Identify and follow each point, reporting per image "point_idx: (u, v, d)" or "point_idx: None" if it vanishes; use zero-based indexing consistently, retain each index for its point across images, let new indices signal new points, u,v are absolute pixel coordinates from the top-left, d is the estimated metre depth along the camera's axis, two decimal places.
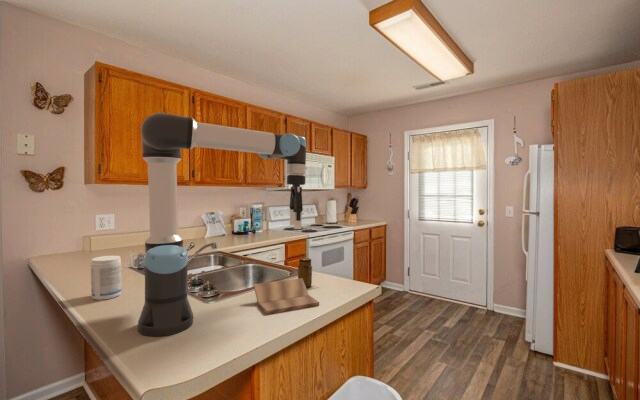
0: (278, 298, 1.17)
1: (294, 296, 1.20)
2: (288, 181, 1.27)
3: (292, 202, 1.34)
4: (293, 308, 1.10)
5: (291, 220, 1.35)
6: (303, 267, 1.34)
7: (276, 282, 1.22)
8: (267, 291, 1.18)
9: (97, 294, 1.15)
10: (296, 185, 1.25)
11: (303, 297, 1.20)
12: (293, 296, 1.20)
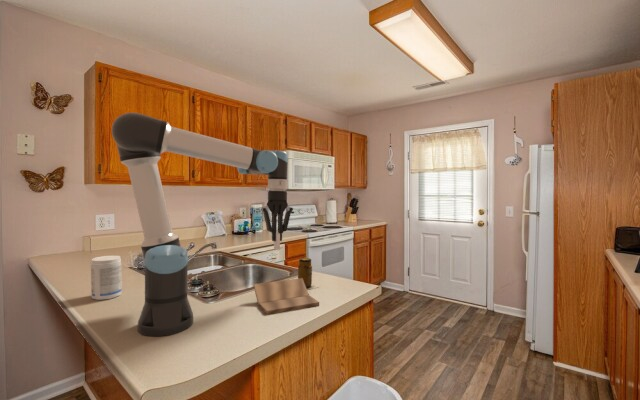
0: (278, 298, 1.17)
1: (294, 296, 1.20)
2: None
3: (278, 221, 1.27)
4: (293, 308, 1.10)
5: None
6: (303, 267, 1.35)
7: (276, 282, 1.22)
8: (267, 291, 1.18)
9: (97, 294, 1.15)
10: (268, 201, 1.24)
11: (303, 297, 1.20)
12: (293, 296, 1.20)
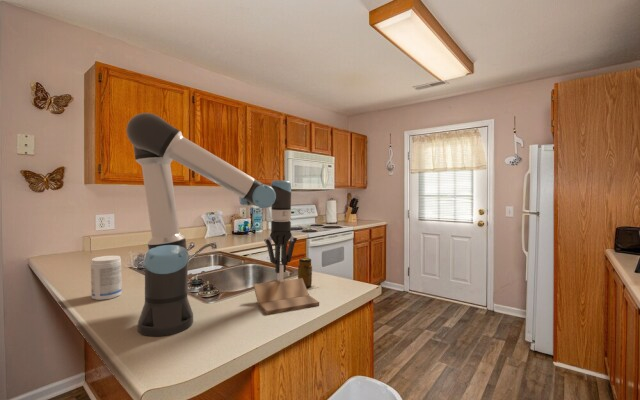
0: (278, 298, 1.17)
1: (294, 296, 1.20)
2: None
3: (281, 252, 1.23)
4: (293, 308, 1.10)
5: None
6: (303, 267, 1.34)
7: (276, 282, 1.22)
8: (267, 291, 1.18)
9: (97, 294, 1.15)
10: (271, 231, 1.21)
11: (303, 297, 1.20)
12: (293, 296, 1.20)
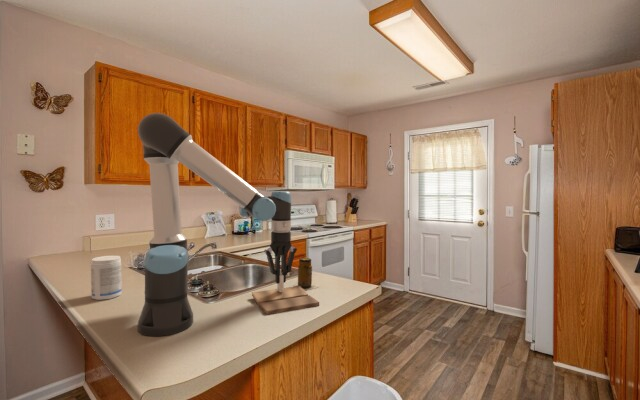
0: (277, 298, 1.18)
1: (293, 296, 1.21)
2: None
3: (281, 262, 1.24)
4: (293, 308, 1.10)
5: None
6: (303, 267, 1.34)
7: (274, 289, 1.25)
8: (266, 295, 1.20)
9: (97, 294, 1.15)
10: (271, 242, 1.21)
11: (303, 297, 1.20)
12: (292, 296, 1.21)
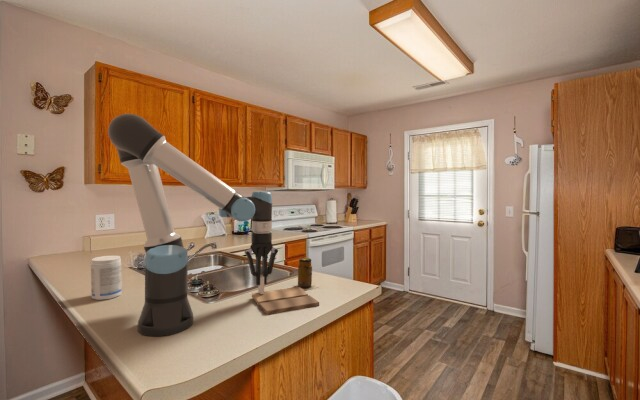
0: (277, 298, 1.18)
1: (293, 296, 1.21)
2: None
3: (262, 263, 1.22)
4: (293, 308, 1.10)
5: None
6: (303, 267, 1.34)
7: (274, 290, 1.25)
8: (265, 295, 1.20)
9: (97, 294, 1.15)
10: None
11: (303, 297, 1.20)
12: (292, 296, 1.21)
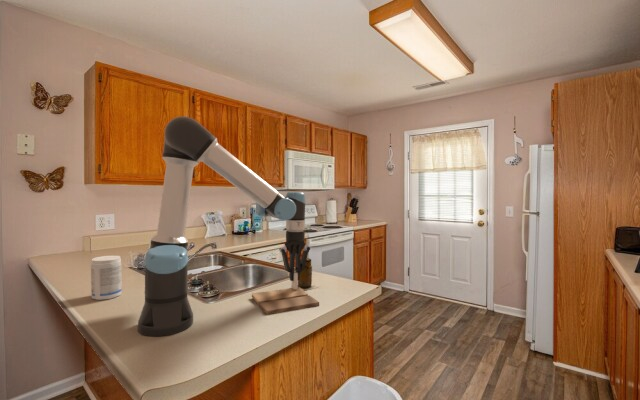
0: (277, 298, 1.18)
1: (293, 296, 1.21)
2: None
3: (295, 260, 1.28)
4: (293, 308, 1.10)
5: None
6: None
7: (274, 291, 1.25)
8: (265, 295, 1.20)
9: (97, 294, 1.15)
10: (286, 241, 1.26)
11: (303, 297, 1.20)
12: (292, 296, 1.21)
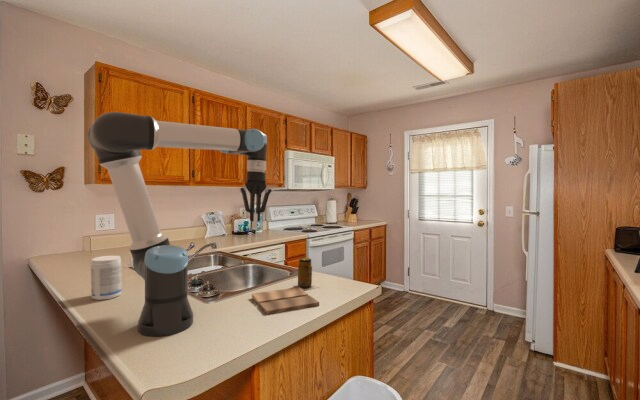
0: (277, 298, 1.18)
1: (293, 296, 1.21)
2: None
3: (256, 202, 1.29)
4: (293, 308, 1.10)
5: None
6: (303, 267, 1.34)
7: (274, 291, 1.25)
8: (265, 295, 1.20)
9: (97, 294, 1.15)
10: None
11: (303, 297, 1.20)
12: (292, 296, 1.21)
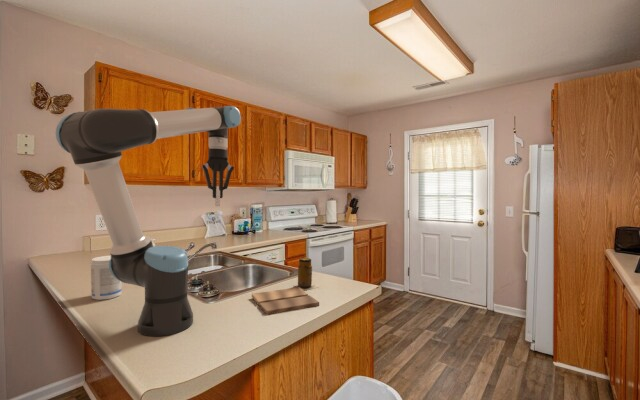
0: (277, 298, 1.18)
1: (293, 296, 1.21)
2: None
3: (219, 179, 1.31)
4: (293, 308, 1.10)
5: None
6: (303, 267, 1.34)
7: (274, 291, 1.25)
8: (265, 295, 1.20)
9: (97, 294, 1.15)
10: (208, 158, 1.29)
11: (303, 297, 1.20)
12: (292, 296, 1.21)
